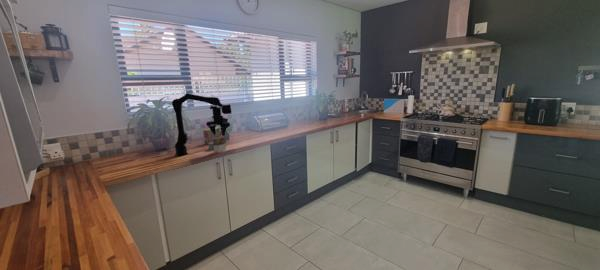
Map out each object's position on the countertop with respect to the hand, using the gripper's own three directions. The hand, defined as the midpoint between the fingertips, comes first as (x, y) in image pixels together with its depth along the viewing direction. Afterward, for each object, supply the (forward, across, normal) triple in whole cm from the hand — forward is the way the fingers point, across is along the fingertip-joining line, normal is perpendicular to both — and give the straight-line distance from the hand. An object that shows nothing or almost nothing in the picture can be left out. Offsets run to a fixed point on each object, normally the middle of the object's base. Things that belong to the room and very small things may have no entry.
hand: (219, 135), depth 185 cm
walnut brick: (+7, 0, 0) cm, 7 cm away
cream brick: (+12, 0, 0) cm, 12 cm away
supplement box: (+12, +44, +12) cm, 47 cm away
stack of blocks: (+12, +24, -19) cm, 33 cm away
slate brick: (+12, +8, -2) cm, 14 cm away
